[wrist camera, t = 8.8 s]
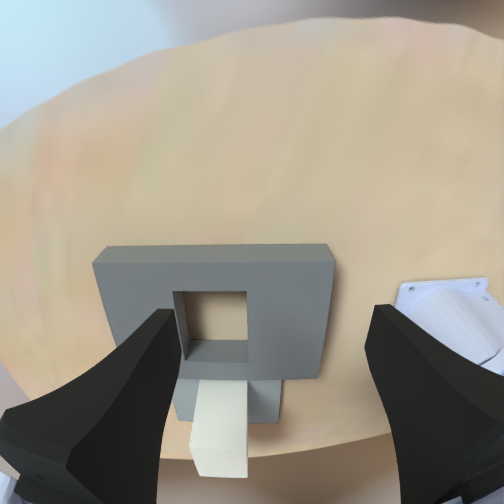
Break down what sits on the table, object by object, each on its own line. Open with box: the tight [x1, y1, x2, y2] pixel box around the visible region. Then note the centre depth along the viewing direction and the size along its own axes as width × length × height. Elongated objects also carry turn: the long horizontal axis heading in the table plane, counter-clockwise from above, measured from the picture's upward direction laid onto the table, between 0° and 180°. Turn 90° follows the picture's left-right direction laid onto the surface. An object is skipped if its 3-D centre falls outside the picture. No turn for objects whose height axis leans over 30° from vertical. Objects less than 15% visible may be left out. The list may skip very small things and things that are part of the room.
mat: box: [172, 378, 282, 423], centre depth 26 cm, size 10×8×1 cm
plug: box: [189, 380, 248, 478], centre depth 23 cm, size 4×6×7 cm
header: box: [92, 244, 335, 381], centre depth 21 cm, size 15×10×2 cm, turn 91°
